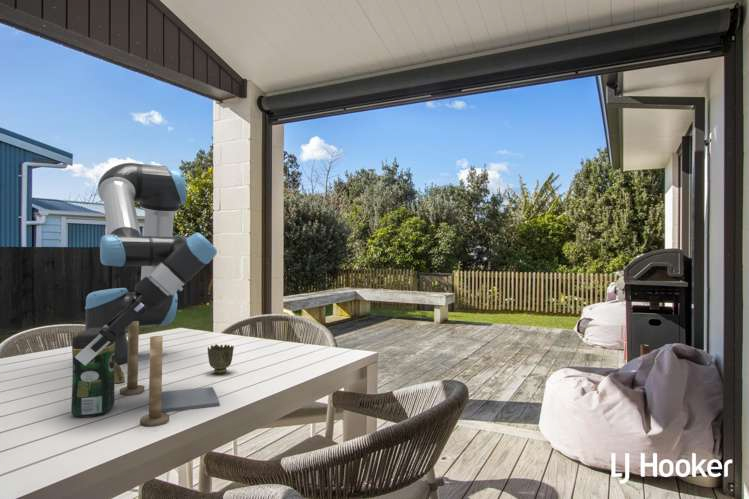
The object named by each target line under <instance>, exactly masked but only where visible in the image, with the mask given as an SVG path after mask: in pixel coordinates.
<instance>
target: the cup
mask: <svg viewBox="0 0 749 499" xmlns="http://www.w3.org/2000/svg"><path fill="white" fill-rule="evenodd" d="M234 347H235V345H230V344H224V345H223V344H221V345H218V344H215V345H212V344H211V345H210V347H209V346H208V347H207V357H208V364H209V365H210V367H211V368H213V373H214V374H216V375H224V374H226V373H227V368H228V367H230V366H231V363H232V362H233V356H234Z"/></svg>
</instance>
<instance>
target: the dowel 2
mask: <svg viewBox="0 0 749 499" xmlns="http://www.w3.org/2000/svg"><path fill="white" fill-rule="evenodd" d="M163 339H164V338H163V336H162V335H154V336H150V338H149V375H148V376H149V380H148V381H149V384H148V413H147V414H144V415H143V416H141V417H140V420H139V424H140V426H142V427H148V428H149V427H151V428H152V427H157V426H162V425H165V424H167V423H169V421H170V414H169V413H168V412H163V413H161V395H162V392H163V391H162V390H163V389H162V388H163V387H162V385H163V383H162V382H163V378H162V377H163Z"/></svg>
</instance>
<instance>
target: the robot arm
mask: <svg viewBox="0 0 749 499" xmlns="http://www.w3.org/2000/svg"><path fill="white" fill-rule="evenodd" d="M97 194H98V197H99V199H100V200H101V202H103V208H104V218H105V225H106V232H107V234H105V235H102V236H101V238H100V243H99V247H100V248H99V256H100V257H99V259H100V263H101V264H102V265H103V266H110V267H118V268H119V267H120V268H121V267H141V270H140V271H141V272H140V274H141V275H140V280H139V281H138V282H137V283H136V284H135V285H134V291H131V292H130V291H129V290H128V289H127V288H126V287H119V288H116V287H115V288H108V289H101V290H96V291H92V292H90V293H88V294H87V296H86V298H85V307H84V309H85V324H84V327H85V328H84V331H86V330H88V329H89V328H100V327H107V329H106V330H105V331H104V330H102V329H101V330H100V331H99V333H100V335H98V336H97V337H96V338H95V339H94V340H93V341H92V342H91V343H90V344H89V345H87V346H86V347H85V348H84V349H83V350H82V351H81V352H80V353H79V354H77V355H76V356H75V358H76V359H77V360H79V361H80V362H81V363H82V364H84V365H86V364H88V363H89V362H90V361H91V360H92V359H93V358H94V357H95V356H96V355H97V354H98V353H99V352H101V351H102V350H103V349H104V348H105V347H106V346H107V345H108V344H109V343H110V342H111V341H114V340H115V357H114V361H115V362H116V363H117V364H118V365H122V364H125V363H128V336H127V329H128V326H129V325H130V324H131V323H132V322H133V321H139V328H140V327H141V328H142V327H159V326H165V325H169V324H171V323H173V321H174V320H175V317H176V314H177V309H178V300H179V299H178V298H179V297H178V293H177V292H178V291H179V292H182V291H183V290H184V288H183V286H185V284H187V283H188V282H189V281H190V280H191V279H192V278H193V277H195V276H196V275H197V274H198V273H199V272H200V271H201V270H202V269H204V267H205V266H206V265H208V264H210V263H211V261H212V260H213V259H214V258H215V257H216V256H217V253H218V252H217V249H216V247H215V246H214V245H213V244H212V243H211V242H210V241H209V240H208V239H207V238H206V237H205V236H204V235H203V234H201V233H200V232H194V233H193V234H191V235H190V236H189V237H188V236H187V237H186V236H184V235H173V232H174V221H175V220H174V218H175V214H177V213H178V212H179V211H180V206H181V205H182V206H183V205H185V203H186V202H187V184H186V179H185V175H184V173H183V171H182V170H181V169H180V168H177V167H172V166H167V165H156V164H154V165H153V164H143V163H136V162H124V163H121V164H117V165H115V166H113V167H111V168H109V169H108V170H106V171H105V172H104V174H102V176H101V177H100V179H99V180H98V184H97ZM135 202H140V203H139V206H140V208H141V209H142V210H143V212H144V223H143V224H144V225H143V235H142V233H141V230H140V228H141V227H140V222H139V219H138V216H137V210H136V206H135Z"/></svg>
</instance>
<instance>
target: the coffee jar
mask: <svg viewBox="0 0 749 499" xmlns="http://www.w3.org/2000/svg"><path fill="white" fill-rule="evenodd" d="M101 329H102V330H104V331H105V330H106V329H107V327H100V328H89V329H88V330H86V331H85V330H84V331H82V332H80V333H77V334H76V335H74V336H72V340H71V341H72V345H71V353H72V354H71V355H72V376H71V377H72V378H71V380H72V381H71V384H72V385H71V388H72V389H71V403H70V404H71V410H70V412H71V415H72V416H74V417H79V418H80V417H81V418H91V417H95V416H98V415H103V414H106V413H108V412H109V411H110V410H111V409H112V408H113V406H114V405H115V397H116V395H115V383H114V357H115V340H114V341H111V342H110V343H109V344H108V345H107V346H106V347H105V348H104V349H103V350H102V351H101V352H99V353H98V354H97V355H96V356H95V357H94V358H93V359H92V360H91V361H90V362H89V363H88V364H86V365H84V364H82V363H81V362H80V361H79V360H77V359H76V358H75V356H76V355H77V354H79V353H80V352H81V351H82V350H83V349H84V348H85V347H86V346H87V345H89V344H90V343H91V342H92V341H93V340H94V339H95V338H96V337H97V336H98V335H100V333H99V331H100V330H101Z"/></svg>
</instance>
